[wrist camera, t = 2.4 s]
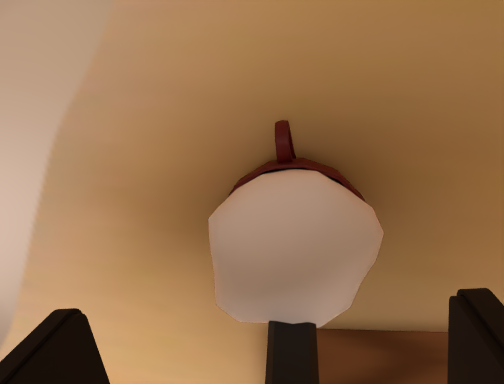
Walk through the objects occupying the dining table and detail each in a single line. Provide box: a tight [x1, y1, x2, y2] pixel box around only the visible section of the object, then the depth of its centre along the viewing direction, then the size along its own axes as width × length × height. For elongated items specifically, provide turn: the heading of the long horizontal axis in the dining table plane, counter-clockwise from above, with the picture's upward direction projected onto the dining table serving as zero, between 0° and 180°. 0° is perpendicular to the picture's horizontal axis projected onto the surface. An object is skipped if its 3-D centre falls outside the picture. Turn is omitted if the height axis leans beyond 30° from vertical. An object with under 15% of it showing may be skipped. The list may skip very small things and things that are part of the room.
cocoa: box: [208, 120, 384, 384], centre depth 12 cm, size 10×6×12 cm, turn 164°
